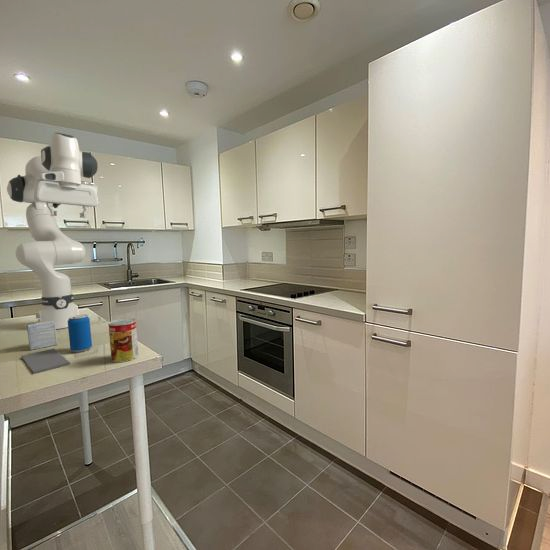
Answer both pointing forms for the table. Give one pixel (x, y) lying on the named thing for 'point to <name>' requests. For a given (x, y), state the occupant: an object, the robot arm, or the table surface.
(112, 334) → the canned food
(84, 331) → the beverage can
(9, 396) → the table surface
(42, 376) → the table surface
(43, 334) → the medicine box
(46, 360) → the charcoal mat
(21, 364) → the table surface
